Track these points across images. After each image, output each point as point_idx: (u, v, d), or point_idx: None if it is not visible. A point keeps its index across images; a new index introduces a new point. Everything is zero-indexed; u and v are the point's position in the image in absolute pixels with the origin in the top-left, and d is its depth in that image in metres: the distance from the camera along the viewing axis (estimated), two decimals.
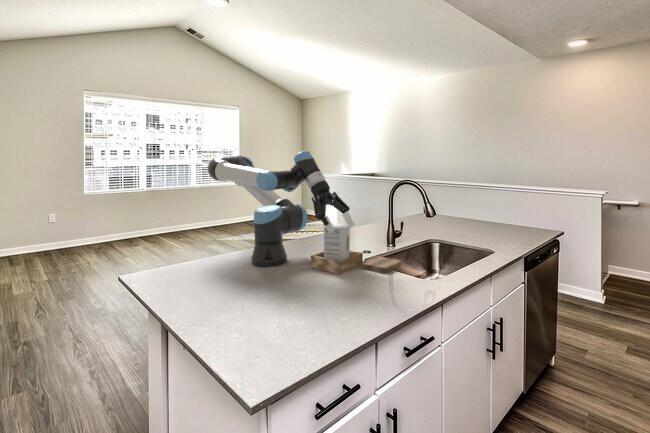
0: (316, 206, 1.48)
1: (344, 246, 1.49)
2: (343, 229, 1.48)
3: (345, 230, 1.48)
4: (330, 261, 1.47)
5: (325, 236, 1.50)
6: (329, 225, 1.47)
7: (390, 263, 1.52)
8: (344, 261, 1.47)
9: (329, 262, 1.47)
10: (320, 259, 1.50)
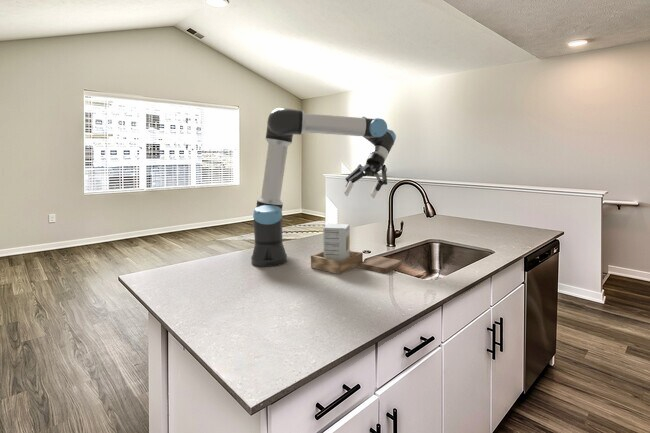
0: (385, 175, 1.62)
1: (344, 247, 1.48)
2: (343, 230, 1.48)
3: (345, 231, 1.47)
4: (330, 261, 1.47)
5: (325, 237, 1.50)
6: (376, 192, 1.59)
7: (390, 263, 1.52)
8: (344, 261, 1.47)
9: (329, 262, 1.47)
10: (320, 259, 1.50)
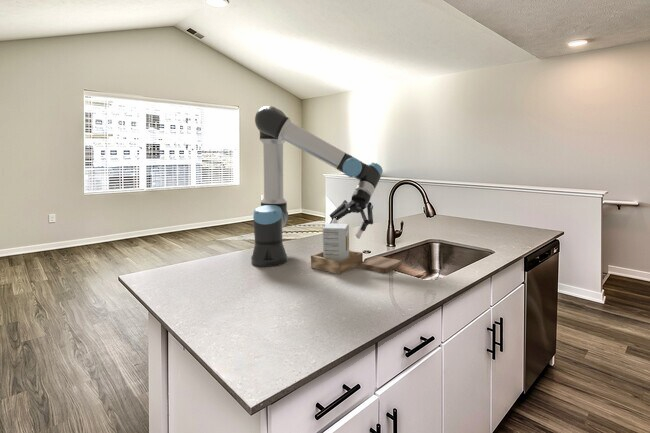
0: (371, 214, 1.55)
1: (343, 247, 1.48)
2: (342, 230, 1.47)
3: (344, 231, 1.47)
4: (330, 261, 1.47)
5: (324, 237, 1.49)
6: (361, 232, 1.52)
7: (390, 263, 1.52)
8: (344, 261, 1.47)
9: (329, 262, 1.47)
10: (320, 259, 1.50)
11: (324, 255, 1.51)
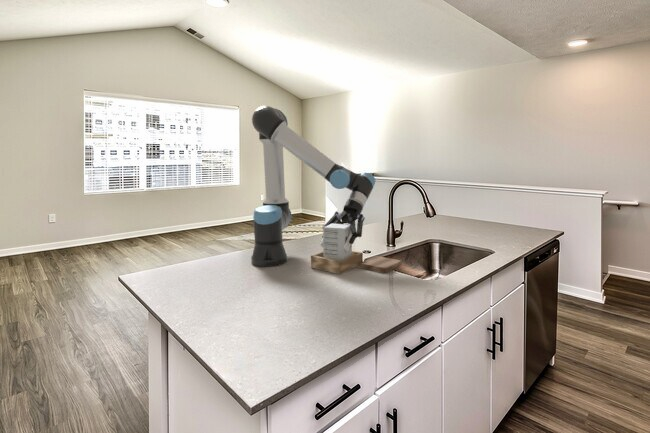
0: (361, 226, 1.52)
1: (342, 247, 1.48)
2: (341, 230, 1.47)
3: (343, 231, 1.47)
4: (330, 261, 1.47)
5: (324, 236, 1.50)
6: (349, 245, 1.49)
7: (390, 263, 1.52)
8: (344, 261, 1.47)
9: (329, 262, 1.47)
10: (320, 259, 1.50)
11: (324, 254, 1.52)
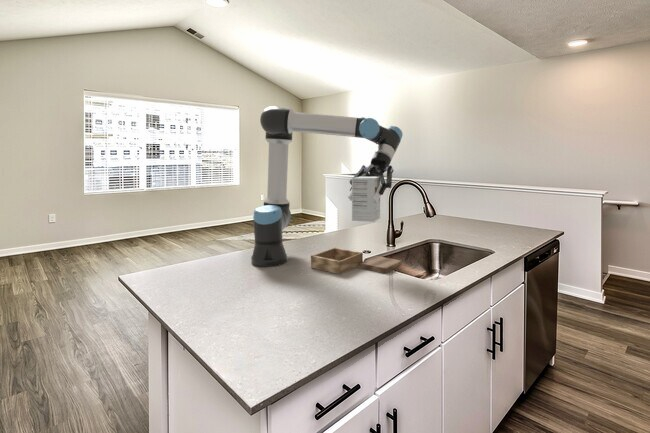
0: (391, 177, 1.48)
1: (372, 197, 1.44)
2: (371, 180, 1.43)
3: (373, 181, 1.43)
4: (330, 261, 1.47)
5: (353, 187, 1.46)
6: (379, 196, 1.45)
7: (390, 263, 1.52)
8: (344, 261, 1.47)
9: (329, 262, 1.47)
10: (320, 259, 1.50)
11: (352, 206, 1.48)
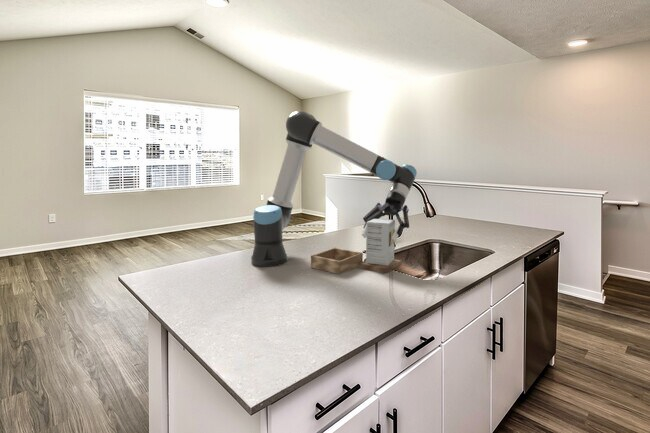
0: (407, 217, 1.50)
1: (386, 242, 1.47)
2: (385, 225, 1.46)
3: (387, 226, 1.46)
4: (330, 261, 1.47)
5: (368, 231, 1.50)
6: (397, 235, 1.47)
7: (390, 263, 1.52)
8: (344, 261, 1.47)
9: (329, 262, 1.47)
10: (320, 259, 1.50)
11: (367, 249, 1.51)
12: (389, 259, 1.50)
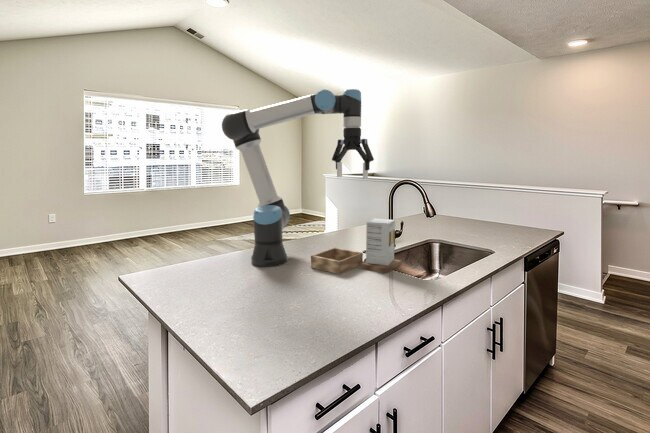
0: (369, 150, 1.59)
1: (386, 242, 1.47)
2: (385, 225, 1.46)
3: (387, 226, 1.46)
4: (330, 261, 1.47)
5: (367, 231, 1.50)
6: (366, 171, 1.62)
7: (390, 263, 1.52)
8: (344, 261, 1.47)
9: (329, 262, 1.47)
10: (320, 259, 1.50)
11: (367, 249, 1.51)
12: (389, 259, 1.50)
